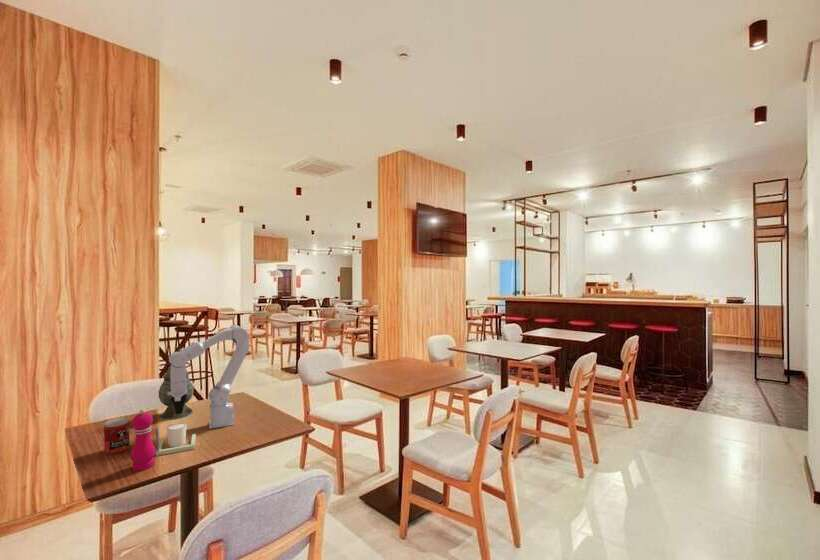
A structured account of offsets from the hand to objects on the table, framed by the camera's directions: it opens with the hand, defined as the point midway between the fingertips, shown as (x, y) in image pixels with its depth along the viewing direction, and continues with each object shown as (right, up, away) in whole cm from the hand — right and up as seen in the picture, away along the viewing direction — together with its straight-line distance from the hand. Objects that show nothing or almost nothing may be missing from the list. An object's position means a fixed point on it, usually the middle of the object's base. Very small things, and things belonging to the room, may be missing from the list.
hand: (179, 413), depth 164 cm
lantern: (-15, -8, +23) cm, 29 cm away
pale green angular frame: (+5, -9, -13) cm, 16 cm away
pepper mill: (+4, -9, -28) cm, 30 cm away
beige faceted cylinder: (+5, -9, -10) cm, 14 cm away
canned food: (-15, -9, -15) cm, 23 cm away
